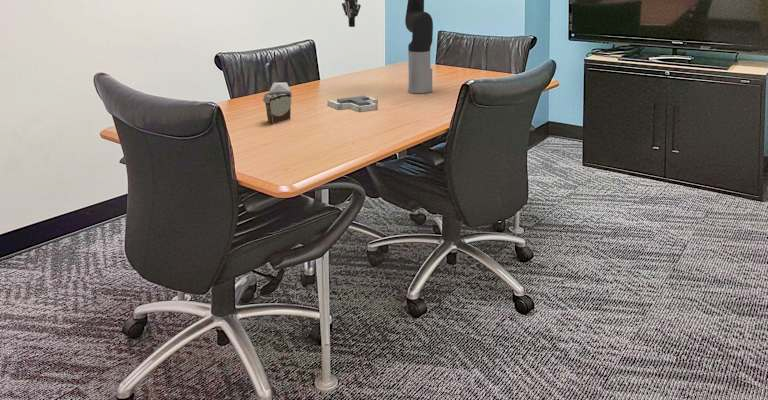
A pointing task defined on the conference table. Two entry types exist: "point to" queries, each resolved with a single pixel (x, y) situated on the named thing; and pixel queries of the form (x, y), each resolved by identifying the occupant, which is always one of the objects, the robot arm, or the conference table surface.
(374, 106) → the t dock
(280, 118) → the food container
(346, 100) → the t block
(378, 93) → the conference table surface
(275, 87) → the grey rounded block
